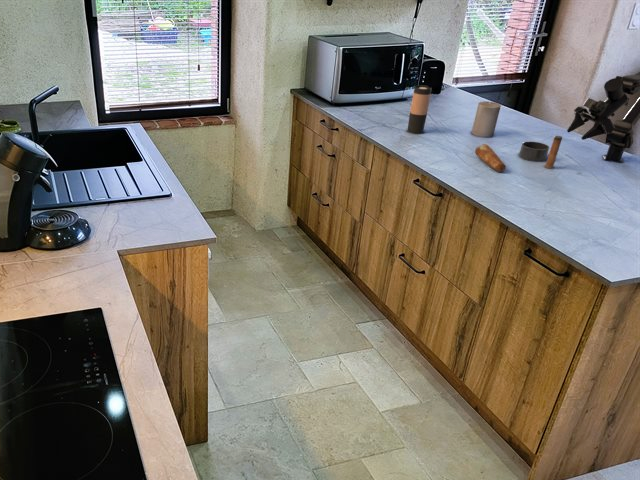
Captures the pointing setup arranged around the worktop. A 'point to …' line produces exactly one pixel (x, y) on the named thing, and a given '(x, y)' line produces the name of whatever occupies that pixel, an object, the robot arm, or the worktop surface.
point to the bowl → (534, 151)
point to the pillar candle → (486, 119)
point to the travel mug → (419, 109)
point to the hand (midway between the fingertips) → (574, 135)
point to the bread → (490, 157)
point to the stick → (553, 151)
